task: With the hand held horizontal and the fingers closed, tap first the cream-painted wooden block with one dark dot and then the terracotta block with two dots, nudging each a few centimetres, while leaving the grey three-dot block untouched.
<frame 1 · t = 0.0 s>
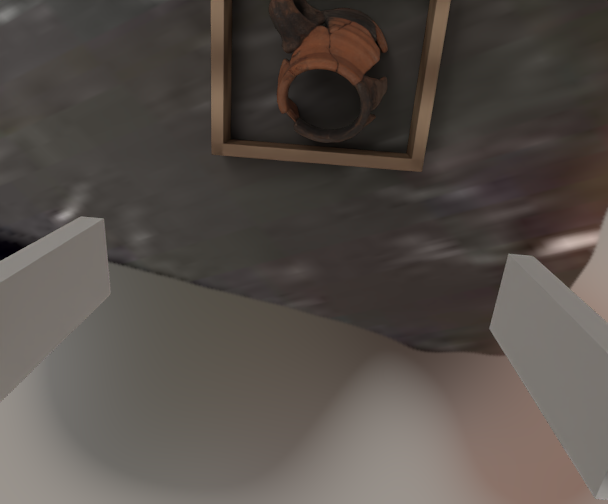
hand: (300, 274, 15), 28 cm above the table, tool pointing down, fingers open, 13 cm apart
pottery mug: (325, 62, 38), on the table
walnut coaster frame: (324, 62, 38), on the table
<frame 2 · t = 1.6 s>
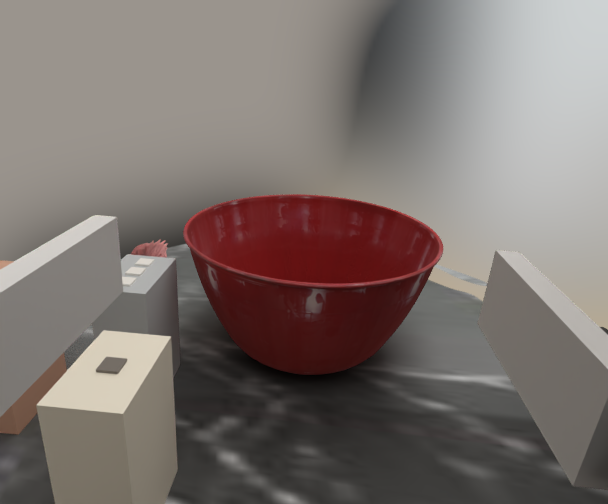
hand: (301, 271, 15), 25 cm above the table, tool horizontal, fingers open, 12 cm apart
flower: (147, 279, 70), on the table
terracotta block: (20, 401, 44), on the table
mixing bowl: (303, 344, 56), on the table
grey block: (144, 385, 47), on the table
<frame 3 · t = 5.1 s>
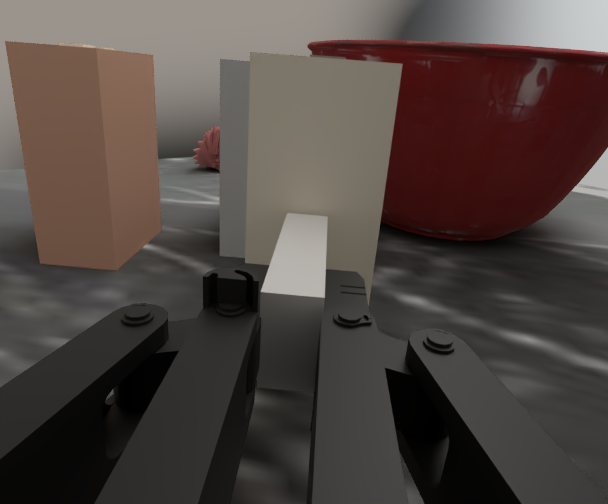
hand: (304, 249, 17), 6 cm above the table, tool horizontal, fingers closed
flower: (220, 171, 59), on the table
terracotta block: (107, 245, 33), on the table
mixing bowl: (436, 220, 45), on the table
grey block: (262, 240, 36), on the table
cream block: (304, 334, 23), on the table, touching gripper
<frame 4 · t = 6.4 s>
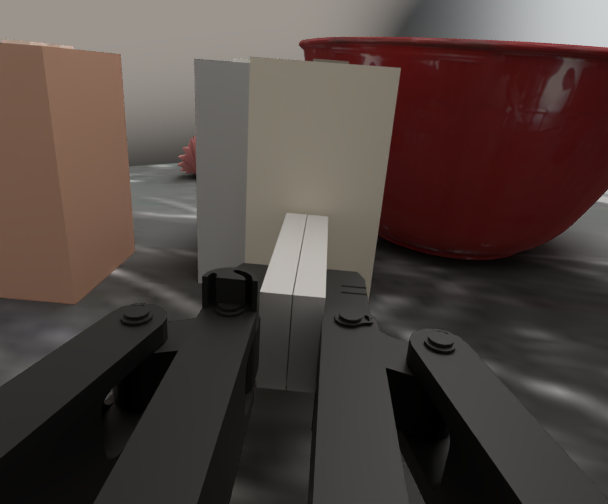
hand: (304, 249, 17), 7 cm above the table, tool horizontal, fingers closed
flower: (208, 179, 55), on the table
terracotta block: (70, 271, 29), on the table
mixing bowl: (441, 234, 41), on the table
grey block: (248, 262, 32), on the table
cream block: (307, 337, 23), on the table, touching gripper
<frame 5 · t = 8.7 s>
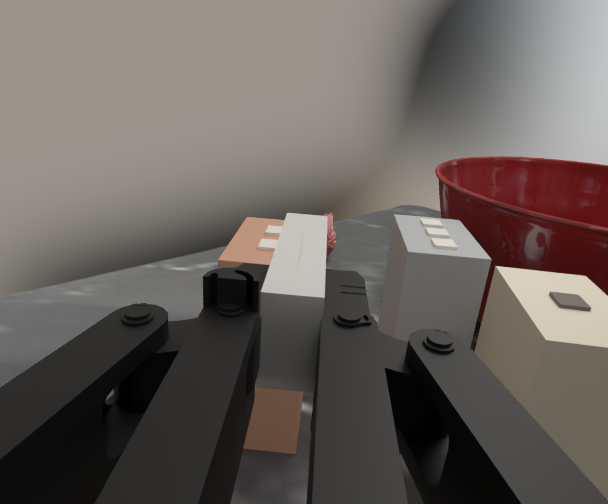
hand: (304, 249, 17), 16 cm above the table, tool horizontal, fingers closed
flower: (310, 260, 59), on the table
terracotta block: (266, 407, 33), on the table
mixing bowl: (554, 337, 45), on the table
grey block: (407, 388, 36), on the table
cream block: (507, 494, 27), on the table
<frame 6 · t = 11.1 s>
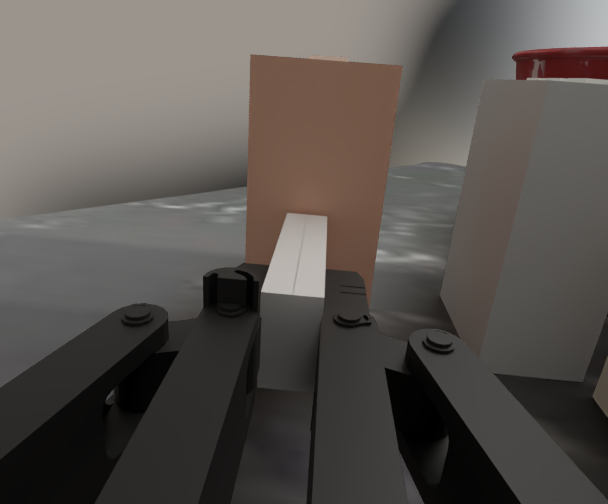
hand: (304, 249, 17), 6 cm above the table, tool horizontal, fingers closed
terracotta block: (307, 335, 23), on the table, touching gripper
grey block: (500, 332, 25), on the table
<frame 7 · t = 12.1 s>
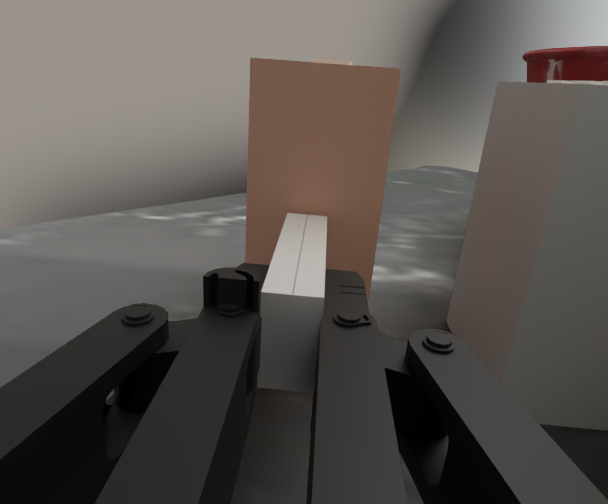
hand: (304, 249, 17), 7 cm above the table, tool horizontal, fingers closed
terracotta block: (311, 337, 23), on the table, touching gripper
grey block: (515, 366, 22), on the table
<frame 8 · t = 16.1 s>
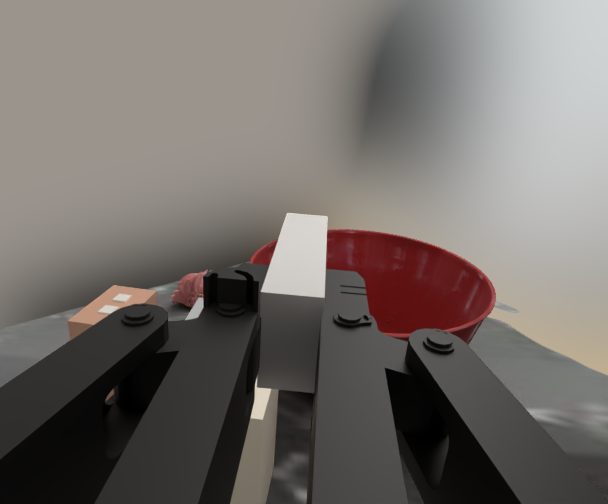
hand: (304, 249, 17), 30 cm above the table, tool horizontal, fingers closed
flower: (193, 307, 73), on the table
terracotta block: (125, 407, 51), on the table
mixing bowl: (353, 376, 59), on the table
cream block: (238, 498, 41), on the table
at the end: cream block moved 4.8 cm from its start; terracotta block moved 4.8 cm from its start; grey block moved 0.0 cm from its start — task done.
